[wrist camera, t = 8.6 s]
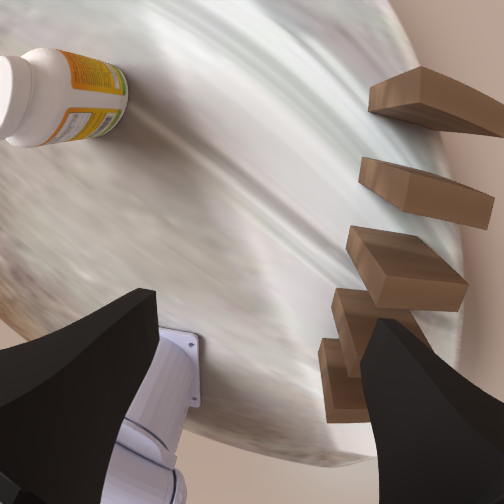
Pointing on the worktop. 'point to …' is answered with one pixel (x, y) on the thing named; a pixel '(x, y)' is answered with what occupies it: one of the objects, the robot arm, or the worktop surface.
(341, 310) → the domino
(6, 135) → the supplement bottle
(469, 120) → the domino
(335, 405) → the domino
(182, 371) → the robot arm
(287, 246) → the worktop surface
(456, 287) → the domino
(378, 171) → the domino
